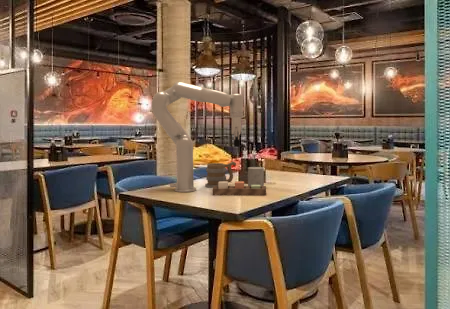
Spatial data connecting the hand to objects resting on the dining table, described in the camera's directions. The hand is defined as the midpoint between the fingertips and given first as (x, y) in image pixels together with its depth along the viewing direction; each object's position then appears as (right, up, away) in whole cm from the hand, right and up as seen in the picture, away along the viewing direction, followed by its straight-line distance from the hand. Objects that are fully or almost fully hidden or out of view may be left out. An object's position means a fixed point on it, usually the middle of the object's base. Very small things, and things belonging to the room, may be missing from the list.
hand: (236, 146), depth 240 cm
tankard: (-9, -24, +14) cm, 29 cm away
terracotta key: (+1, -24, -13) cm, 28 cm away
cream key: (-8, -24, -12) cm, 28 cm away
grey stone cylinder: (+11, -25, +4) cm, 28 cm away
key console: (+1, -26, -13) cm, 29 cm away
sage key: (+10, -26, -14) cm, 31 cm away
